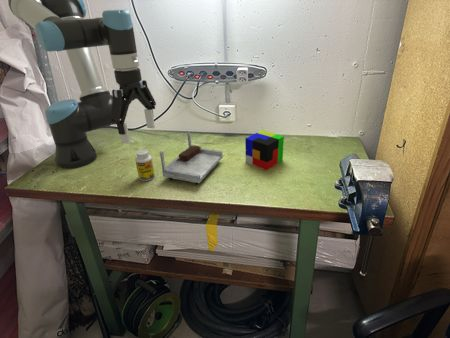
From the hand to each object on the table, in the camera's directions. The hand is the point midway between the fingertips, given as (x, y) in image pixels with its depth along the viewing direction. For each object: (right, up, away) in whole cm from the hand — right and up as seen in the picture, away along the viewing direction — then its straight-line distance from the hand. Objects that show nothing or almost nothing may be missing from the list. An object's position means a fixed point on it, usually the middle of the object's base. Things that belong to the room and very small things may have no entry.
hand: (139, 135), depth 100 cm
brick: (+15, -8, +17) cm, 25 cm away
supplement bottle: (0, -15, +8) cm, 17 cm away
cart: (+17, -12, +11) cm, 24 cm away
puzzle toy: (+43, -9, +16) cm, 47 cm away
